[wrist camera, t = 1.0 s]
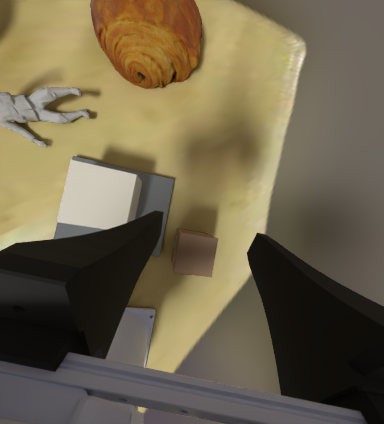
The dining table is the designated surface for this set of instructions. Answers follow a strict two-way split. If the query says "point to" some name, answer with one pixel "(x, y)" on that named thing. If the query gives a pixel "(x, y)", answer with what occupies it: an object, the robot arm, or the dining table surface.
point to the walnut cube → (194, 253)
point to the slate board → (148, 202)
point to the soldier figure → (35, 109)
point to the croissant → (149, 38)
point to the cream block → (99, 196)
